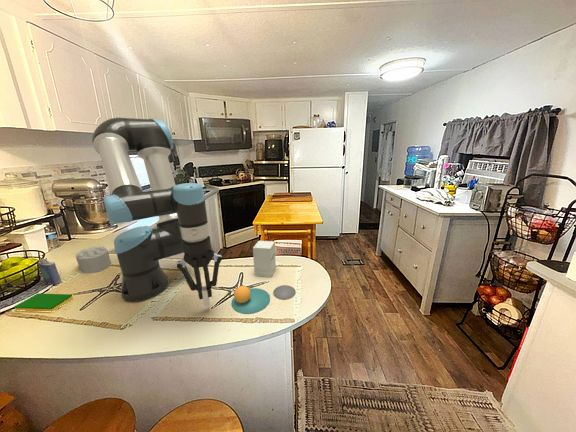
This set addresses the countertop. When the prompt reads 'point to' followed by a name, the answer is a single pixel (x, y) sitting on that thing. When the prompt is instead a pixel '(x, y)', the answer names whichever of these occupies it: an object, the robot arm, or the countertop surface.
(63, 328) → the countertop surface
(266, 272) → the supplement box
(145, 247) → the robot arm
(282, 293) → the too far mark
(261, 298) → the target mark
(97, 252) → the lumpy-topped squat cylinder
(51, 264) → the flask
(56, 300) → the dish sponge
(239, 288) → the ball
